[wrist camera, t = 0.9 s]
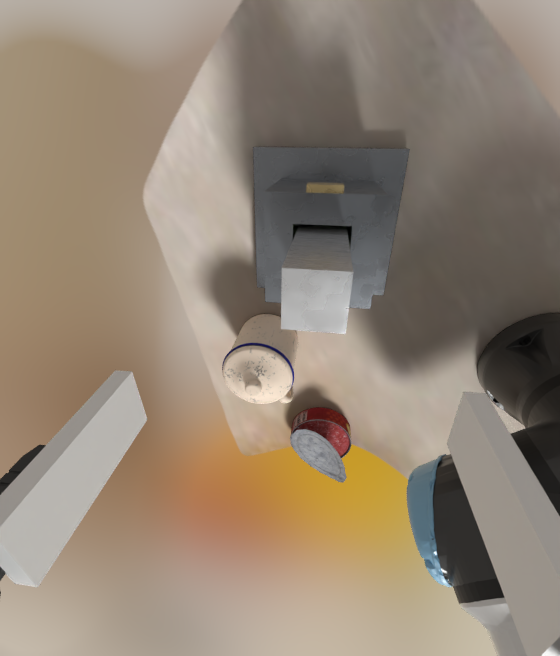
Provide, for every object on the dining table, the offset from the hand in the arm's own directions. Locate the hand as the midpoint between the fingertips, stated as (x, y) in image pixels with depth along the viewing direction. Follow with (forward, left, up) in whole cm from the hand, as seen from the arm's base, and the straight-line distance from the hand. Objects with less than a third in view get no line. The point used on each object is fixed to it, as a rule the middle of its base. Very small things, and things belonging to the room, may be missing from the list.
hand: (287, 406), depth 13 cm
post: (-1, -1, -29) cm, 29 cm away
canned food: (-3, +33, -31) cm, 46 cm away
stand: (-1, -1, -31) cm, 31 cm away
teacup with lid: (+5, +17, -31) cm, 36 cm away
